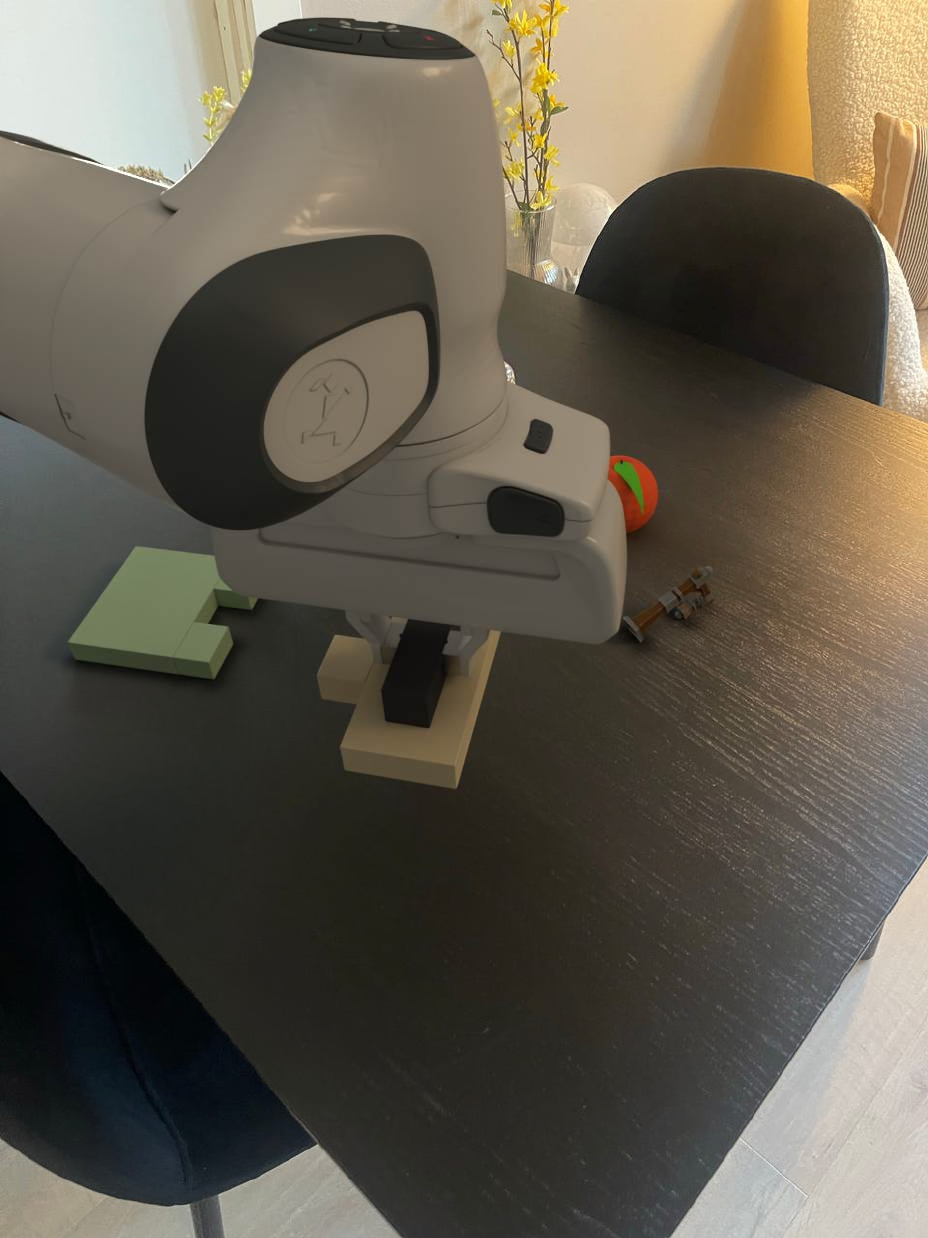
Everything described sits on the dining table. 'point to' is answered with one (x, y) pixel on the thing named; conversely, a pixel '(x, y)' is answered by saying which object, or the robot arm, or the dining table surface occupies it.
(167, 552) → the green pad
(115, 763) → the dining table surface
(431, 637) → the cream pad
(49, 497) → the dining table surface
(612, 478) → the clementine
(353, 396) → the robot arm
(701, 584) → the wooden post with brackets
